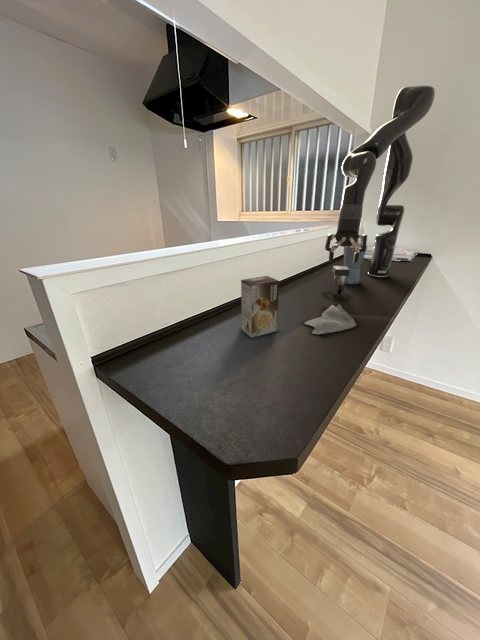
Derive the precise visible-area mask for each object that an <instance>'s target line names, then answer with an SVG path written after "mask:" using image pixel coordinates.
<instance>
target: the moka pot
mask: <svg viewBox="0 0 480 640" xmlns="http://www.w3.org/2000/svg"><path fill="white" fill-rule="evenodd" d="M355 243H356V245H357V246H358V248H360V247H361V243H359V239H358V240H357V241H356V242H355ZM367 250H368V246H367V245H366V249H365V251H364V252H360V253H359V257H358V261H357V262H356V263H353V257H354V252H355V250H354V248H353V247H352V246H350V247H348V246H344V247H343V266H347V267H348V268H349V269H350V271H349V276H346V282H345V284H347V285H358V284H360V281H361V280H360V279H361V265H362V264H363V261H364V259H365V255H366V252H367Z"/></svg>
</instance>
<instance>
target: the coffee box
mask: <svg viewBox="0 0 480 640" xmlns="http://www.w3.org/2000/svg"><path fill="white" fill-rule="evenodd" d="M240 288H241V289H240V292H241V293H240V296H241V297H240V298H241V299H240V300H241V303H240V304H241V330H242V332H244V333H245V334H247V336H249V338H252V339H253V338H256V337H260V336H265V335H268V334H271V333H275V332H277V331H278V315H279V312H278V311H279V296H280V295H279V294H280V280H279V279H276V278H274V277H271V276H269V275H264V276H263V275H262V276H256V277H251V278H243V279H240Z"/></svg>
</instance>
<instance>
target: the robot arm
mask: <svg viewBox="0 0 480 640" xmlns="http://www.w3.org/2000/svg"><path fill="white" fill-rule="evenodd" d="M435 94H436V92H435V88H434V87H433V86H431V85H414V86H404V87H402V88H401V89H400V90H399V91H398V93H397V95H396V97H395V99H394V103H393V108H392V117H391V120H389V121H387V122H386V123H384V124H383V125H381V126H379V127H378V128H376V129H375V131H373V133H372V134H371V135H370V136H369V138H368V139H366V141H365V142H363V143H362V144H359V146H357V147H356V148H354V149H353V150H352V151H351V152H349V153H348V154H347V156H345V158H344V160H343V162H342V164H341V165H342V166H341V172H342V174H343V175H344V176H345V177H346V178H355V179H354V182H353V183H351V184H348V185H346V186H345V187H344V189H343V193H342V201H341V206H340V209H339V215H338V221H337V227H336V233H334V234H332V233H328V234H327V235H326V240H325V245H324V250H325V251H327V252H328V261H329V262H330V263H333V262H334V257H335V251H336V250H337V249H338V248H339V247H342V248H344V246H348V247H350V246H352V247H353V248H354V250H355V252H354V257H353V263H356V262H357V261H358V257H359V253H360V252H364V251H365V249H366V246H367V242H368V235H367V234H365V233H363V234H359V232H360V227H361V222H362V217H363V211H364V209H363V208H364V200H365V195H366V191H367V188H368V186H369V184H370V181H371V179H372V177H373V175H374V172H375V170H376V167H377V159H379V158H380V157H381V156H383V155H384V153H385V152H386V151H387V150H388V153H387V157H386V163H385V167H384V175H383V181H382V187H381V188H382V190H381V194H380V199H379V204H378V208H377V213H376V217H375V224H376V225H377V226H379V227H380V226H381V227H391V228H390V229H388V230H387V231H385V232H381V233H377V234H376V235H375V237H374V244H373V248H372V253H371V257H370V259H368V262H369V266H368V271H367V276H369V277H372V278H375V279H376V278H377V279H386V278H388V277H389V272H390V269H391V264H392V260H393V256H394V252H395V248H396V245H397V240H398V236H399V231H400V227H401V224H402V221H403V218H404V214H405V206H404V205H402V204H388V203H389V201H390V199H391V198H392V196H393V195H394V194H395V193H396V192H397V191H398V190H399V188H401V186H403V185H404V184H405V182H406V181H407V179H408V178H409V177H410V173H411V168H412V165H413V160H414V159H413V158H414V155H413V151H412V148H411V146H410V142H409V140H408V137H407V131H409V130H411V128H412V127H414V126H415V125H416V124H418V123H419V122H420V121H421V120H423V118H425V117H426V115H427V114H428V113H429V111H430V110H431V108H432V106H433V104H434V101H435ZM334 239H335V242H334V243H333V244H332V246H331V242H332V241H333V240H334ZM357 240H358V241H360V244H361V247H360V248H358V246H357V245H356V243H355V242H356V241H357ZM366 250H367V249H366Z"/></svg>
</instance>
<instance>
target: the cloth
mask: <svg viewBox="0 0 480 640" xmlns="http://www.w3.org/2000/svg"><path fill="white" fill-rule="evenodd" d="M343 308H344V307H342V306H341V304H340V303H338V304H337V305H334V304H331V305H330V306H329V307H328V308H327V309H326V310H324V311H323V312H322V313H321V315H320V316H319V317H316V318H312V319H310V320H307V321H305V322H303V324H304V325H306V326H309V327H312V328H314V329H313V330H312V331H311V334H313V335H318V336H319V335H323V336H324V335H329V334H332V333H336V332H341V331H345V330H349V329H352V328H354V327H356V326H357V322H355V319H354V318H353V317H352V316H351V315H350V314H349V313H348V312H347V311H346V310H345V309H343Z"/></svg>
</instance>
